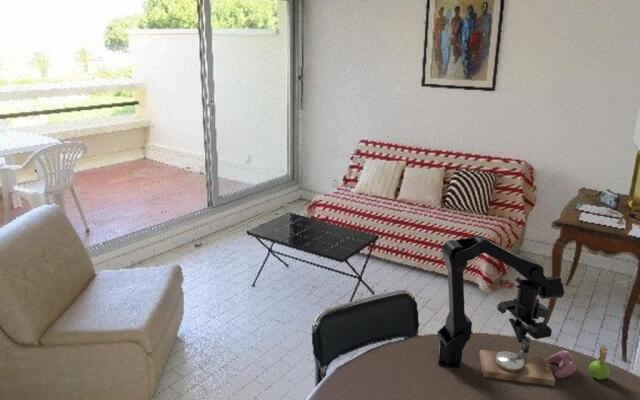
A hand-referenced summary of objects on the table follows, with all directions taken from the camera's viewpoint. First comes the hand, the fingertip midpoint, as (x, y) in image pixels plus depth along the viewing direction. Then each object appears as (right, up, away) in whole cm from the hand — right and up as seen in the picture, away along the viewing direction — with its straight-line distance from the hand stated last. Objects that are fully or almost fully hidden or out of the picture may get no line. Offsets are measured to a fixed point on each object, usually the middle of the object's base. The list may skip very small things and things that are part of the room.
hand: (520, 342), depth 161 cm
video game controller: (+11, -8, -5) cm, 14 cm away
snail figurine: (+20, -9, -9) cm, 23 cm away
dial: (-4, -5, -5) cm, 8 cm away
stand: (-4, -7, -5) cm, 10 cm away
